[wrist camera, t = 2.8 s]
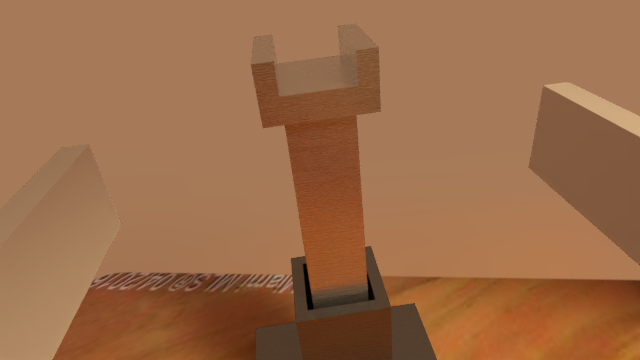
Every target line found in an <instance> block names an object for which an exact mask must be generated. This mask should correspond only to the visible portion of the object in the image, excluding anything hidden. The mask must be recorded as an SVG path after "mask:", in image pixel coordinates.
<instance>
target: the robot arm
mask: <svg viewBox="0 0 640 360" xmlns="http://www.w3.org/2000/svg"><path fill="white" fill-rule="evenodd" d="M529 168H530V169H531V170H532V171H533V172H534V173H536V174H537V175H538V176H539V177H540V178H541V179H542V180H543V181H545V182H546V183H547V184H548V185H549V186H550V187H551V188H553V189H554V190H555V191H556V192H557V193H558V194H559V195H561V196H562V197H563V198H564V199H565V200H566V201H567V202H568V203H570V204H571V205H572V206H573V207H574V208H575V209H576V210H578V211H579V212H580V213H581V214H582V215H583V216H584V217H586V218H587V219H588V220H589V221H590V222H591V223H592V224H593V225H595V226H596V227H597V228H598V229H599V230H600V231H601V232H603V233H604V234H605V235H606V236H607V237H608V238H609V239H611V240H612V241H613V242H614V243H615V244H616V245H617V246H619V247H620V248H621V249H622V250H623V251H624V252H625V253H626V254H628V255H629V256H630V257H631V258H632V259H633V260H634V261H636V262H637V263H638V264H639V265H640V116H638V115H636V114H634V113H632V112H630V111H627V110H625V109H623V108H621V107H619V106H617V105H615V104H613V103H611V102H609V101H607V100H604V99H603V98H600V97H598V96H596V95H594V94H592V93H590V92H588V91H586V90H584V89H582V88H579V87H578V86H575V85H573V84H571V83H569V82H566V83H558V84H550V85H543V90H542V95H541V101H540V107H539V112H538V118H537V123H536V129H535V135H534V140H533V146H532V152H531V157H530V163H529ZM120 226H121V221H120V218H119V216H118V214H117V211H116V209H115V206H114V204H113V202H112V199H111V197H110V194H109V192H108V189H107V187H106V184H105V182H104V180H103V177H102V175H101V172H100V170H99V167H98V165H97V162H96V160H95V158H94V155H93V153H92V150H91V148H90V145H89V144H86V145H78V146H71V147H63V148H60V149H59V150H58V152H56V153H55V154H54V156H53V157H52V158H50V159H49V160H48V162H47V163H46V164H45V165H44V166H43V167H42V168H41V169H40V170H39V171H38V172H37V173H36V174H35V175H34V176H33V177H32V178H31V179H30V180H29V181H28V182H27V183H26V184H25V185H24V186H23V187H22V188H21V189H20V190H19V191H18V192H17V193H16V194H15V195H14V196H13V197H12V198H11V199H10V200H9V201H8V202H7V203H6V204H5V205H4V206H3V207H2V208H1V209H0V360H53V358H54V356H55V354H56V352H57V350H58V348H59V346H60V344H61V342H62V340H63V338H64V336H65V334H66V332H67V330H68V328H69V326H70V324H71V322H72V320H73V318H74V316H75V314H76V312H77V310H78V309H79V307H80V305H81V303H82V301H83V299H84V297H85V295H86V293H87V291H88V289H89V287H90V285H91V283H92V281H93V279H94V277H95V275H96V273H97V271H98V269H99V267H100V265H101V263H102V261H103V259H104V257H105V256H106V253H107V252H108V249H109V248H110V246H111V244H112V242H113V240H114V238H115V236H116V234H117V232H118V230H119V228H120Z"/></svg>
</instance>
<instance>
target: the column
mask: <svg viewBox="0 0 640 360" xmlns="http://www.w3.org/2000/svg"><path fill="white" fill-rule="evenodd" d="M338 37H339V49H340V55H339V56H331V57H324V58H316V59H309V60H301V61H294V62H286V63H279V64H277V61H276V55H275V48H274V42H273V36H272V35H265V36H258V37H254V42H253V50H252V58H251V69H252V74H253V79H254V84H255V90H256V94H257V100H258V106H259V111H260V116H261V121H262V127H263V128H269V127H276V126H283V125H285V131H286V137H287V143H288V150H289V155H290V161H291V169H292V174H293V181H294V187H295V193H296V199H297V206H298V212H299V219H300V225H301V231H302V237H303V244H304V250H305V256H306V263H307V269H308V275H309V281H310V288H311V294H312V300H313V307H314V309H320V308H326V307H333V306H339V305H345V304H351V303H358V302H364V301H368V286H367V270H366V254H365V240H364V239H365V238H364V223H363V208H362V191H361V176H360V160H359V145H358V128H357V115H361V114H368V113H376V112H381V100H380V70H379V69H380V68H379V47H378V46H377V45H376V44H375V43H374V42H373V41H372V40H371V39H370V38H369V37H368V36H367V35H366V34H365V33H364V32H363V31H362V30H361V29H360V28H359V27H358V26H357V25H356V24H350V25H341V26H338Z"/></svg>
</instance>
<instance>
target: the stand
mask: <svg viewBox="0 0 640 360" xmlns="http://www.w3.org/2000/svg"><path fill="white" fill-rule="evenodd" d="M365 254H366V270H367V286H368V301H364V302H358V303H351V304H345V305H339V306H333V307H326V308H320V309H314V307H313V300H312V294H311V288H310V281H309V275H308V269H307V263H306V256H303V257H297V258H291V263H292V277H293V291H294V304H295V318H296V322H293V323H287V324H281V325H275V326H268V327H262V328H256V347H255V360H437V358H436V356H435V353H434V351H433V348H432V346H431V343H430V341H429V338H428V336H427V333H426V331H425V328H424V326H423V323H422V321H421V318H420V316H419V313H418V311H417V308H416V306H415V303H413V304H406V305H400V306H394V307H391V306H390V303H389V300H388V297H387V294H386V291H385V288H384V285H383V282H382V279H381V276H380V273H379V270H378V267H377V264H376V261H375V258H374V254H373V251H372V248H371V247H370V246H369V247H365Z"/></svg>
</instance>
